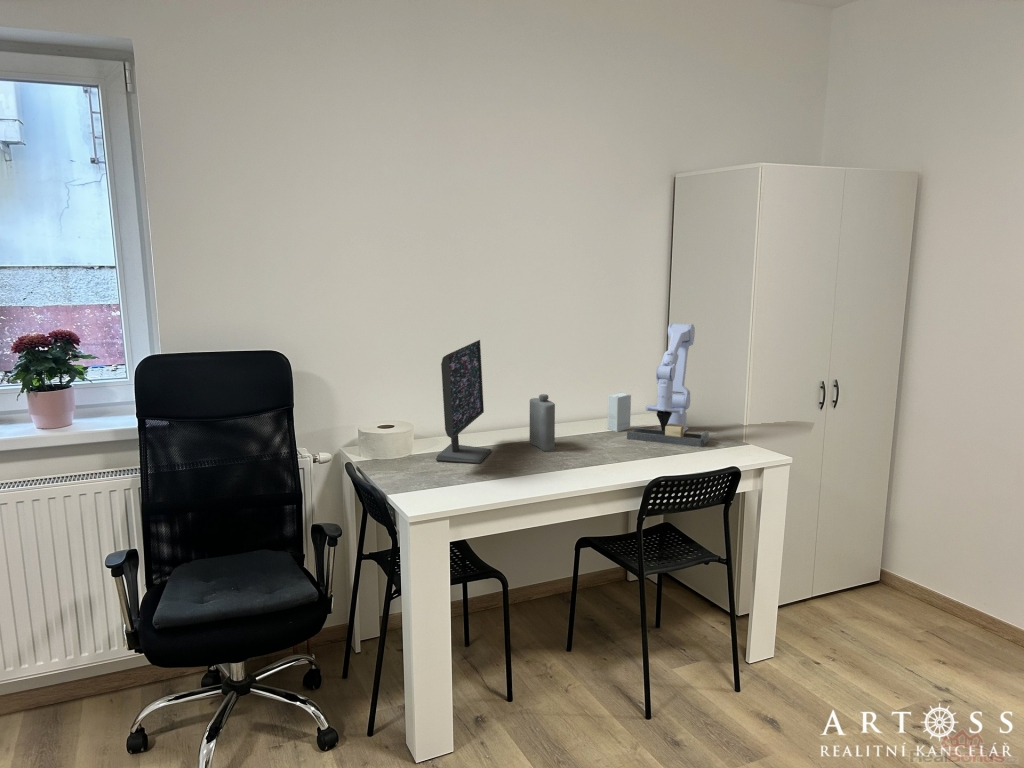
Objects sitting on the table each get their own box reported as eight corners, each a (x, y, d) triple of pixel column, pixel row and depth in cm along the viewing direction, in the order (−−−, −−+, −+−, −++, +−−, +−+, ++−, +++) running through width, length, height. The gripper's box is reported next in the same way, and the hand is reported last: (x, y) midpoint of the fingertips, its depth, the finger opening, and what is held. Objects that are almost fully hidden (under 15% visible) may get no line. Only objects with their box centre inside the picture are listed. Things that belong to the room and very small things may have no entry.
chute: (633, 434, 310) (633, 423, 309) (708, 441, 297) (708, 430, 296) (626, 438, 302) (627, 427, 301) (703, 447, 289) (704, 435, 289)
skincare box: (620, 426, 323) (621, 392, 321) (630, 429, 319) (631, 394, 316) (606, 429, 318) (607, 394, 316) (617, 432, 313) (617, 396, 311)
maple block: (668, 435, 302) (669, 423, 301) (683, 437, 300) (684, 424, 299) (664, 439, 297) (665, 426, 296) (680, 440, 294) (680, 427, 293)
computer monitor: (470, 474, 254) (469, 354, 247) (424, 471, 257) (421, 353, 250) (499, 443, 296) (499, 339, 289) (458, 441, 299) (457, 339, 292)
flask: (558, 450, 285) (559, 397, 281) (544, 452, 282) (545, 398, 279) (541, 441, 298) (541, 391, 295) (527, 443, 296) (527, 392, 292)
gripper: (643, 396, 297) (642, 430, 299) (681, 399, 291) (679, 434, 293) (648, 393, 303) (647, 426, 305) (685, 396, 297) (684, 430, 299)
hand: (663, 430), depth 300 cm, fingers closed
